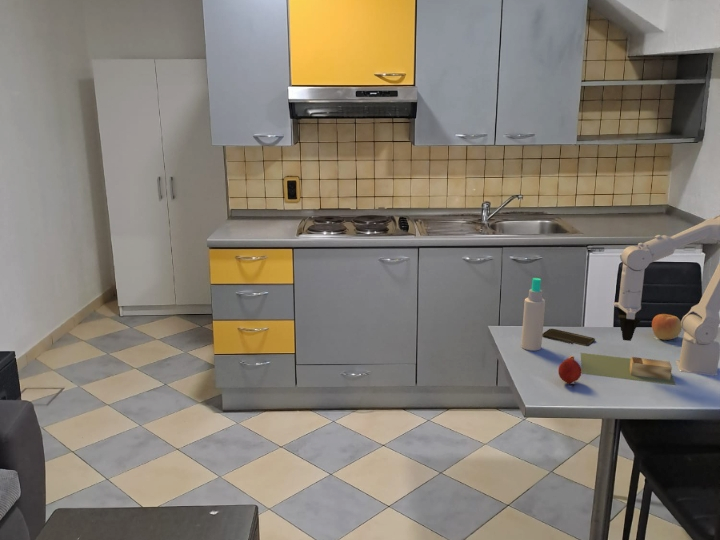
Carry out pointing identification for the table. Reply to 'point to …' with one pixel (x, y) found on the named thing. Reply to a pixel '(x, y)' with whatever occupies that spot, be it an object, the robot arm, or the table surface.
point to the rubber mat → (614, 368)
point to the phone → (568, 337)
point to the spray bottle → (533, 318)
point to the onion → (569, 370)
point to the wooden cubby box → (650, 368)
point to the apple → (666, 326)
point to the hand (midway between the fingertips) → (625, 335)
